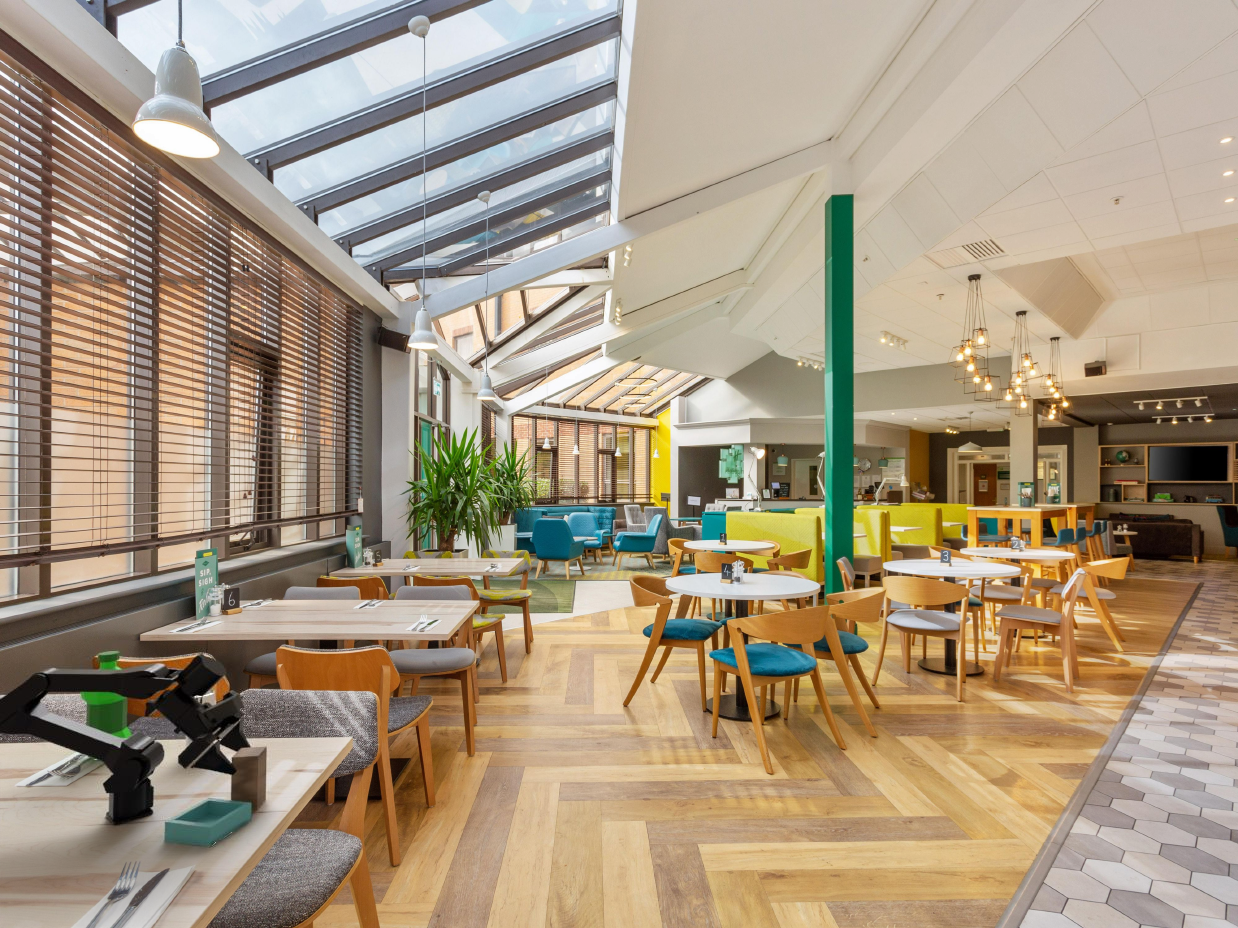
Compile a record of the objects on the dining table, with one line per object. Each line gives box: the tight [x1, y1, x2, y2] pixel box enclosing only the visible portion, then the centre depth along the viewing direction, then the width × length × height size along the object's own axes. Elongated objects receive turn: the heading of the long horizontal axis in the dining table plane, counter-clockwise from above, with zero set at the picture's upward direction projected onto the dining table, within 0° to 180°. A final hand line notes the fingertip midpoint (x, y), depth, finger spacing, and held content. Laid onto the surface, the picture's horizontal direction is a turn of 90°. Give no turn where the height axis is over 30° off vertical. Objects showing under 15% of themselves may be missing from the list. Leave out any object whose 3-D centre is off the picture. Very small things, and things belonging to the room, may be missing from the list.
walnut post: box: [230, 746, 268, 812], centre depth 139 cm, size 5×5×11 cm
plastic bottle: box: [79, 650, 132, 760], centre depth 165 cm, size 10×10×25 cm
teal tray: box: [163, 797, 252, 847], centre depth 129 cm, size 10×10×4 cm
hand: (243, 763), depth 139 cm, fingers open, 9 cm apart
